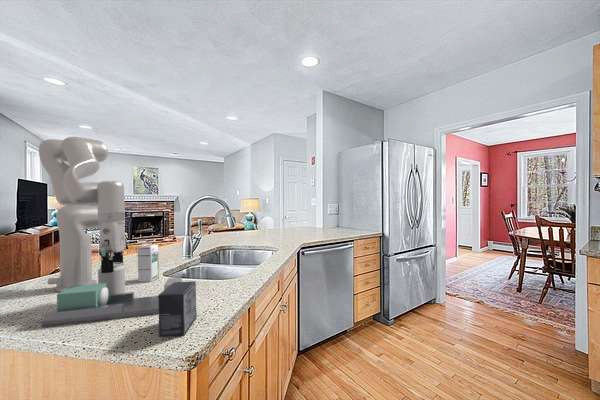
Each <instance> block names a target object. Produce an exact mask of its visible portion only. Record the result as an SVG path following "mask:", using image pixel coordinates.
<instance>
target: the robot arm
mask: <svg viewBox="0 0 600 400" xmlns="http://www.w3.org/2000/svg"><path fill="white" fill-rule="evenodd" d="M38 156H39V160H40V162H41V165H42V167H43V169H44V170H45V171H46V173H47V174H48V176H49V178H50V181H51V185H52V189H53V191H54V193H53V194H54V196H55V198H56V201H57V202H58V204H60V205H62V207H60V208H59V209H58V210H57V212H56V214H55V220H56V224H57V229H58V234H59V235H58V236H59V277H51V278H50V277H49V278H48V279H47V284H48V285H56V286H55V287H54V291H55V292H57V293H60V292H62V291H64V290H65V289H67V288H69V287H70V286H75V285H87V284H98V280H96V279H93V278H92V277H93V276H92V275H93V273H92V270H93V268H92V266H93V265H92V264H93V263H92V258H93V257H92V256H93V255H92V254H93V253H92V250H93V249H92V239H91V236H89V234H88V233H87V232H86V231H85V230H89V229H90V230H91V229H99V251H100V255H99V256H100V266H101V267H100V268H101V273H112V272H113V271H114V266H113V263H114V262H121V263H123V264H122V265H123V266H124V250H126V247H127V246H126V245H127V244H126V242H127V241H126V232H125V230H126V229H125V224H124V223H125V222H126V217H125V216H126V215H125V214H126V209H125V207H126V206H125V205H126V204H125V186H124V185H125V184H124V183H123V182H121V181H117V180H116V181H115V180H105V181H104V180H103V181H100V182H98V181H97V182H95V181H80V180H81V179H85V178H87V177H88V178H89V177H91V176H94V175H95V174H96V173H98V172H99V169H100V163H103V162H104V161H106V159H107V158H108V156H109V150H108V147H107V145H106V144H105V143H104V142H103V141H101V140H98V139H92V138H86V137H79V136H68V137H66V138H64V139H58V138H57V139H56V138H55V139H53V138H51V139H45V140H43V141H41V142H40V143H39V146H38ZM66 162H67V163H68V164H67V163H66Z"/></svg>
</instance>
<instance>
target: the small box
mask: <svg viewBox="0 0 600 400" xmlns="http://www.w3.org/2000/svg"><path fill="white" fill-rule="evenodd" d="M196 282H197V281H193V280H191V281H182V282H174V283H172V284H171V285H170V286H169V287H168V288H166V289H165V290H164V289H163V291H162V292H160V293H158V295H157V296H158V300H159V314H158V336H159V338H162V337H163V338H164V337H166V338H167V337H181V336H182V337H183V336H186V334H187V333H188V331H189V330H190V328H191V327H192V326H193V324H194V323H195V321H196V319H197V316H198V315H197V290H196V289H197V283H196Z"/></svg>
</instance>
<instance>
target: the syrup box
mask: <svg viewBox="0 0 600 400" xmlns="http://www.w3.org/2000/svg"><path fill="white" fill-rule="evenodd" d="M136 249H137V251H136V253H137V281H138V282H140V283H143V282H144V283H146V282H148V283H149V282H150V283H151V282H153V281H155V280H157V279H159V278H160V274H159V273H160V272H159V271H160V269H159V245H158V244H157V243H156V244H154V243H153V244H152V243H151V244H144V245H141V246H138V247H137V248H136Z"/></svg>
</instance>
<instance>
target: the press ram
mask: <svg viewBox="0 0 600 400" xmlns="http://www.w3.org/2000/svg"><path fill="white" fill-rule="evenodd" d="M107 300H108V288H107V287H106V283H99V284H98V283H97V284H87V285H75V286H70V287H69V288H67V289H65V290H64V291H62V292H58V293H57V294H56V310H65V309H75V308H84V307H94V306H102V305H106V303H107Z"/></svg>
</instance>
